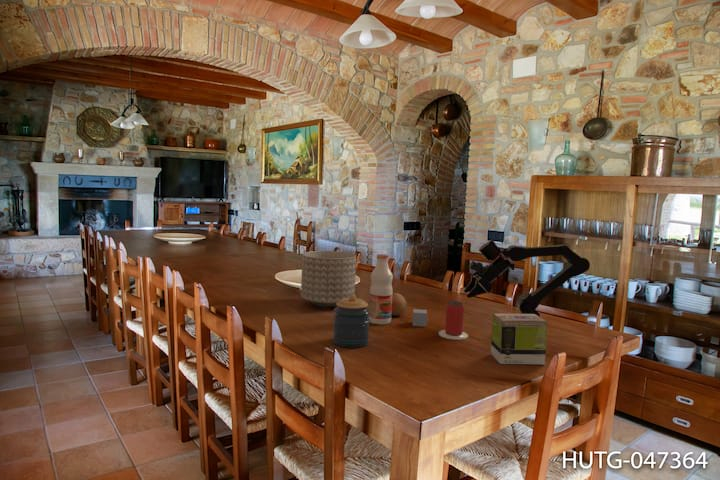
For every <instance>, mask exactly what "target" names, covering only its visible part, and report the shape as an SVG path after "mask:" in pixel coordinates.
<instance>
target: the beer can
mask: <svg viewBox="0 0 720 480" xmlns="http://www.w3.org/2000/svg"><path fill="white" fill-rule="evenodd" d="M464 314H465V309H464V304H463V302H460V301H448V302H447V305H446V308H445V328H444V330H445V332H446V334H448V335H452V336H459V335H461V334H462V333H463V332H464V317H465V316H464Z"/></svg>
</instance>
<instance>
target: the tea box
mask: <svg viewBox="0 0 720 480" xmlns="http://www.w3.org/2000/svg"><path fill="white" fill-rule="evenodd" d="M491 321H492V323H491V324H492V325H491V340H490V341H491V343H490V344H491V345H490V355H491V356H492V357H493V358H494V360H496V362H497V363H499V365H543V366H544V365H546V352H547V350H546V349H547V336H548V335H547V333H548V321H547V320H545V319H544V318H542V317H541V316H540V317H539V316H537V315H536V314H522V313H508V312H507V313H503V312H502V313H500V312H499V313H498V312H497V313H496V312H495V313H492V318H491Z"/></svg>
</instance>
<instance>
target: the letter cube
mask: <svg viewBox="0 0 720 480" xmlns="http://www.w3.org/2000/svg"><path fill="white" fill-rule="evenodd" d="M427 324H428V310H427V309H416V308H413V310H412V327H423V328H424V327H426V328H428V327H427V326H428V325H427Z"/></svg>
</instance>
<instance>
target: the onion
mask: <svg viewBox="0 0 720 480" xmlns="http://www.w3.org/2000/svg"><path fill="white" fill-rule="evenodd" d="M407 307H408V303H407V300H406V298H405V297H404V296H403V295H402V294H400V293H397V292H393V294H392V315H391V316H395V317H399V316H401V315H403V314H404V313H405V312H406V310H407Z"/></svg>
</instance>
